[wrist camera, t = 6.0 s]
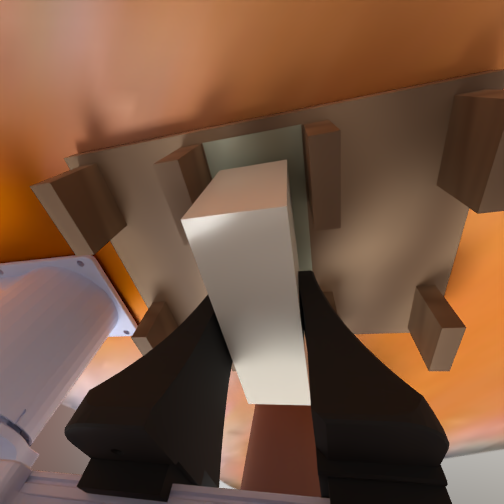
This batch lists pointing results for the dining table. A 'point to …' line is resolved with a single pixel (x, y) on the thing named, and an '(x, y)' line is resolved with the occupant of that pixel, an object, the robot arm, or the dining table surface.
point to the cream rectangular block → (254, 278)
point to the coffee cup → (282, 451)
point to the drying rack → (310, 203)
